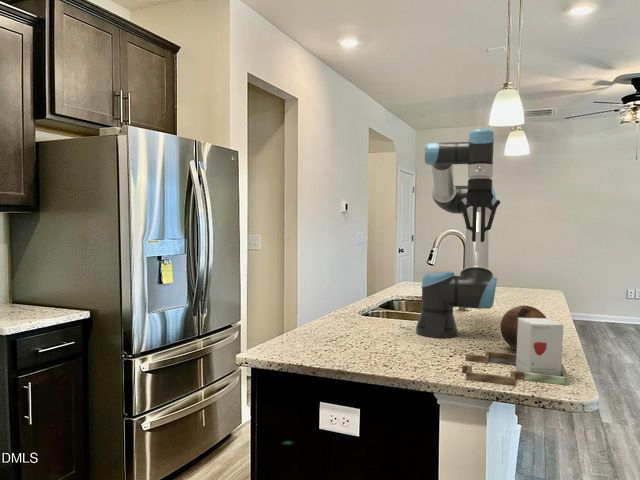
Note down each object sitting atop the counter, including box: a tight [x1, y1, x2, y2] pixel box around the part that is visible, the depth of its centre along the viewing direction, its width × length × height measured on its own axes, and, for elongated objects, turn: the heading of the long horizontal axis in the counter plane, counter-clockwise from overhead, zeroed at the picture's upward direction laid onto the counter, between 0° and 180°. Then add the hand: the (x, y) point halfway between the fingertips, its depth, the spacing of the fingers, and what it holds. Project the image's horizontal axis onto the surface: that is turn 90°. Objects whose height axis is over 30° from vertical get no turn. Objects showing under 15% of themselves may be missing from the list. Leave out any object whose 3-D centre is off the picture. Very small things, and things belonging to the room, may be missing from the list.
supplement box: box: [515, 317, 564, 376], centre depth 135 cm, size 9×9×15 cm
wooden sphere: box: [500, 305, 547, 351], centre depth 160 cm, size 15×15×15 cm
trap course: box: [461, 351, 570, 386], centre depth 137 cm, size 26×26×2 cm
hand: (477, 252), depth 157 cm, fingers closed
